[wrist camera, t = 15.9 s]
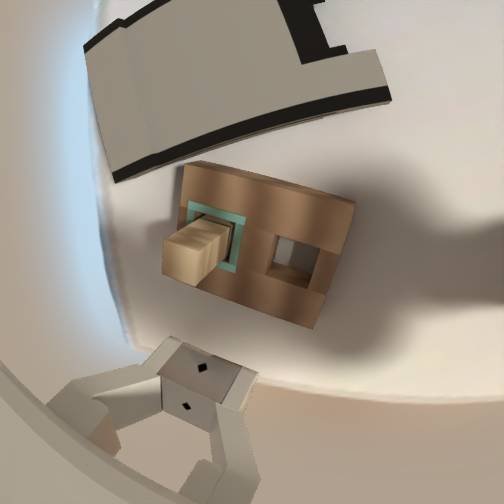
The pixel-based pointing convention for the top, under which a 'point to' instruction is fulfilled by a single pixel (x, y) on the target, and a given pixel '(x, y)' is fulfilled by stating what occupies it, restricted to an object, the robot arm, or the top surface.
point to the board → (267, 237)
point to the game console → (218, 78)
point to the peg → (197, 249)
